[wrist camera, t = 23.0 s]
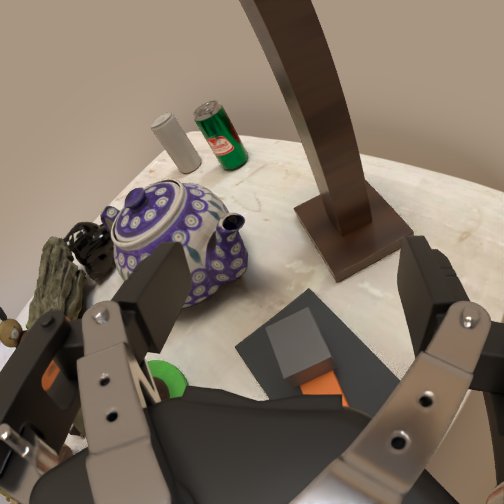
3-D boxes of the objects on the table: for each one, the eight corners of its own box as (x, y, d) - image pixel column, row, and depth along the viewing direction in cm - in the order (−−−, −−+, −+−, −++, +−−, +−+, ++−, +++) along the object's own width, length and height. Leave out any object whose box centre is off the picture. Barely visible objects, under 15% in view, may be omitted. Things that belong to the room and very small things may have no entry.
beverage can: (180, 167, 63) (149, 122, 55) (200, 155, 63) (171, 108, 54) (182, 178, 60) (149, 130, 52) (204, 165, 60) (172, 116, 51)
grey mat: (414, 397, 23) (415, 396, 22) (323, 471, 22) (322, 471, 22) (310, 290, 34) (308, 287, 34) (236, 348, 33) (234, 346, 33)
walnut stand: (413, 240, 32) (331, -109, 8) (337, 282, 33) (173, -74, 9) (361, 182, 41) (269, -75, 17) (296, 215, 42) (166, -40, 18)
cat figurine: (88, 271, 59) (155, 218, 66) (96, 286, 47) (178, 220, 54) (60, 232, 55) (130, 179, 61) (60, 238, 43) (148, 172, 50)
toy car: (39, 375, 43) (-12, 346, 35) (20, 366, 46) (-24, 339, 38) (56, 329, 48) (9, 296, 40) (36, 326, 52) (-6, 295, 44)
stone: (86, 344, 41) (29, 316, 35) (57, 358, 45) (8, 335, 39) (106, 247, 54) (62, 217, 47) (76, 271, 58) (37, 246, 51)
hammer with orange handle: (396, 500, 17) (398, 509, 13) (350, 519, 18) (341, 532, 14) (321, 332, 30) (307, 306, 26) (284, 350, 30) (264, 327, 26)
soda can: (218, 172, 56) (186, 118, 47) (229, 155, 58) (200, 102, 50) (242, 170, 53) (210, 112, 45) (253, 152, 56) (224, 96, 47)
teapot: (118, 295, 46) (50, 235, 36) (170, 220, 53) (118, 153, 42) (249, 355, 32) (163, 277, 21) (307, 239, 38) (261, 136, 28)
